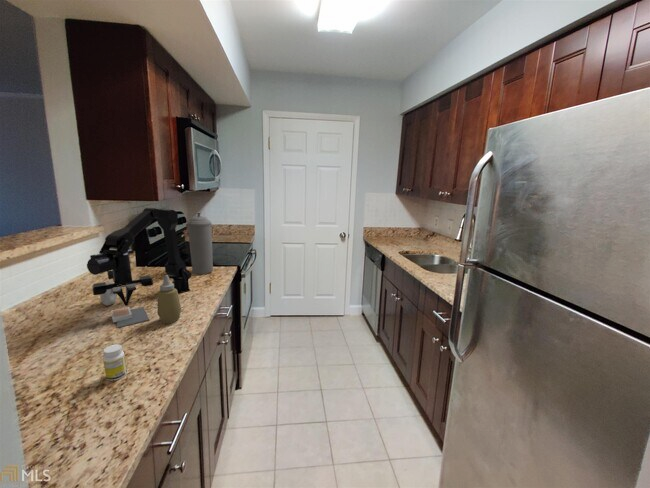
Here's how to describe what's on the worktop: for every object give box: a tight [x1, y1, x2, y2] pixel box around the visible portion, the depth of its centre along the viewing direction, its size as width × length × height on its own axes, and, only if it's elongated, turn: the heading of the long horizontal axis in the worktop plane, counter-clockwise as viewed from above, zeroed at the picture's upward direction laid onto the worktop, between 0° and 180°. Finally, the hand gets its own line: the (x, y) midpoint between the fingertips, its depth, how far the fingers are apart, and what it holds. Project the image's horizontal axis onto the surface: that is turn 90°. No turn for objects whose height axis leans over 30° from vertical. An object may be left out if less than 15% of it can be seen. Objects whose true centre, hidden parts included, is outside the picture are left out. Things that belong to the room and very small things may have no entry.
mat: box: [115, 306, 150, 329], centre depth 114 cm, size 10×14×1 cm
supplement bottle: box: [102, 343, 128, 382], centre depth 79 cm, size 5×5×8 cm
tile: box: [110, 306, 132, 323], centre depth 113 cm, size 8×2×6 cm
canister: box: [186, 211, 214, 276], centre depth 166 cm, size 13×13×35 cm
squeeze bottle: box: [156, 274, 182, 324], centre depth 110 cm, size 8×8×18 cm
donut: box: [99, 281, 118, 306], centre depth 124 cm, size 10×3×10 cm, turn 14°
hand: (126, 305), depth 114 cm, fingers closed
